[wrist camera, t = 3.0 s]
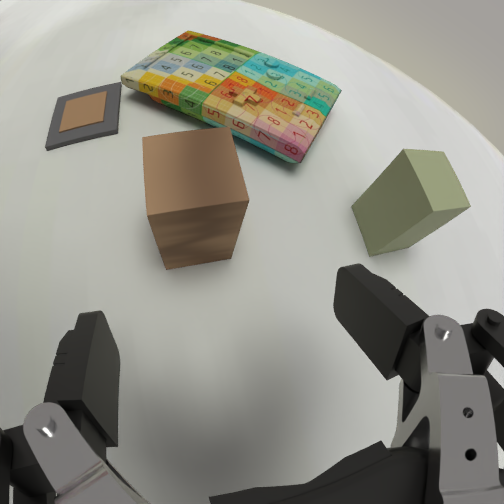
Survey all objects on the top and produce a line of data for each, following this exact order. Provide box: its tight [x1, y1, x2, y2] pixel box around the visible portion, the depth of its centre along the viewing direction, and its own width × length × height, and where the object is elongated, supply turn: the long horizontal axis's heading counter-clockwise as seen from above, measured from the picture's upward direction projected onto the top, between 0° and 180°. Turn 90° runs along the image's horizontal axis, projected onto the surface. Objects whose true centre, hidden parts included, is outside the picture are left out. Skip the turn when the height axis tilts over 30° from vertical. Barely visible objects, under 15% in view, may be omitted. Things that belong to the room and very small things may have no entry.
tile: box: [45, 82, 122, 151], centre depth 25 cm, size 8×8×1 cm
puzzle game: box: [121, 31, 342, 163], centre depth 27 cm, size 12×5×20 cm
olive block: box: [352, 149, 471, 257], centre depth 22 cm, size 5×5×9 cm
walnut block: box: [142, 127, 249, 270], centre depth 19 cm, size 5×5×9 cm
